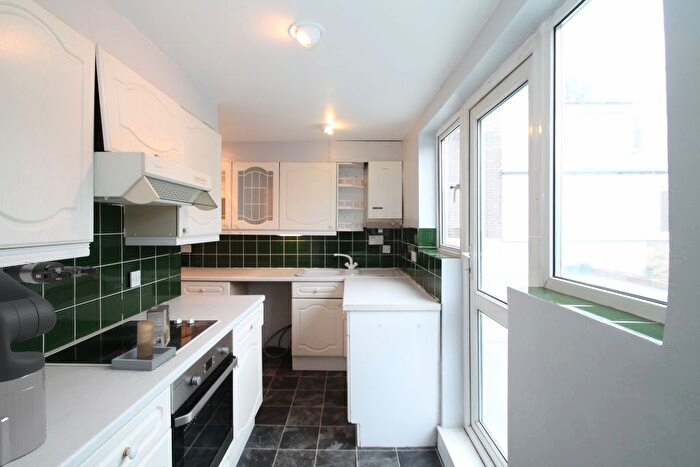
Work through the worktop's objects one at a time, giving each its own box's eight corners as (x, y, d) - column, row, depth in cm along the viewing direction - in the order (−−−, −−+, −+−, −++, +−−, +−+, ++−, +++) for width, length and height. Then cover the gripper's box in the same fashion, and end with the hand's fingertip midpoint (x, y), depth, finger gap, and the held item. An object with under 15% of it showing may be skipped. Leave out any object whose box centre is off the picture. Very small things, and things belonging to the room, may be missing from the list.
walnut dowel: (145, 363, 102) (146, 324, 102) (133, 362, 103) (133, 323, 103) (156, 357, 107) (157, 319, 107) (144, 356, 108) (145, 319, 108)
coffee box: (152, 342, 123) (152, 305, 122) (170, 340, 125) (169, 303, 125) (146, 351, 114) (145, 311, 114) (164, 348, 116) (164, 309, 116)
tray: (152, 370, 98) (151, 361, 98) (111, 368, 100) (111, 359, 100) (176, 355, 110) (175, 347, 110) (139, 353, 112) (139, 345, 112)
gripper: (17, 264, 93) (62, 265, 92) (64, 259, 107) (104, 260, 106) (18, 287, 93) (63, 288, 92) (65, 279, 107) (105, 280, 106)
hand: (85, 273), depth 99 cm, fingers open, 8 cm apart
